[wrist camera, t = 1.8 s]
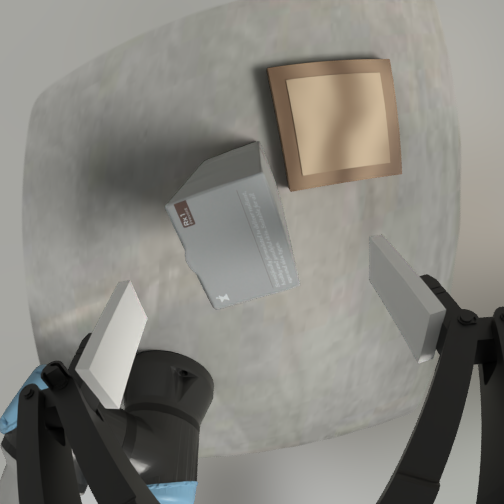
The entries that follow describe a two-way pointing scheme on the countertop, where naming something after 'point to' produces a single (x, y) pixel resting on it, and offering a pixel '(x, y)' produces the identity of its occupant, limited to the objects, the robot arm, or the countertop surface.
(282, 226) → the skincare box
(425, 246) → the countertop surface
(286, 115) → the tan flat square board
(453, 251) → the countertop surface
